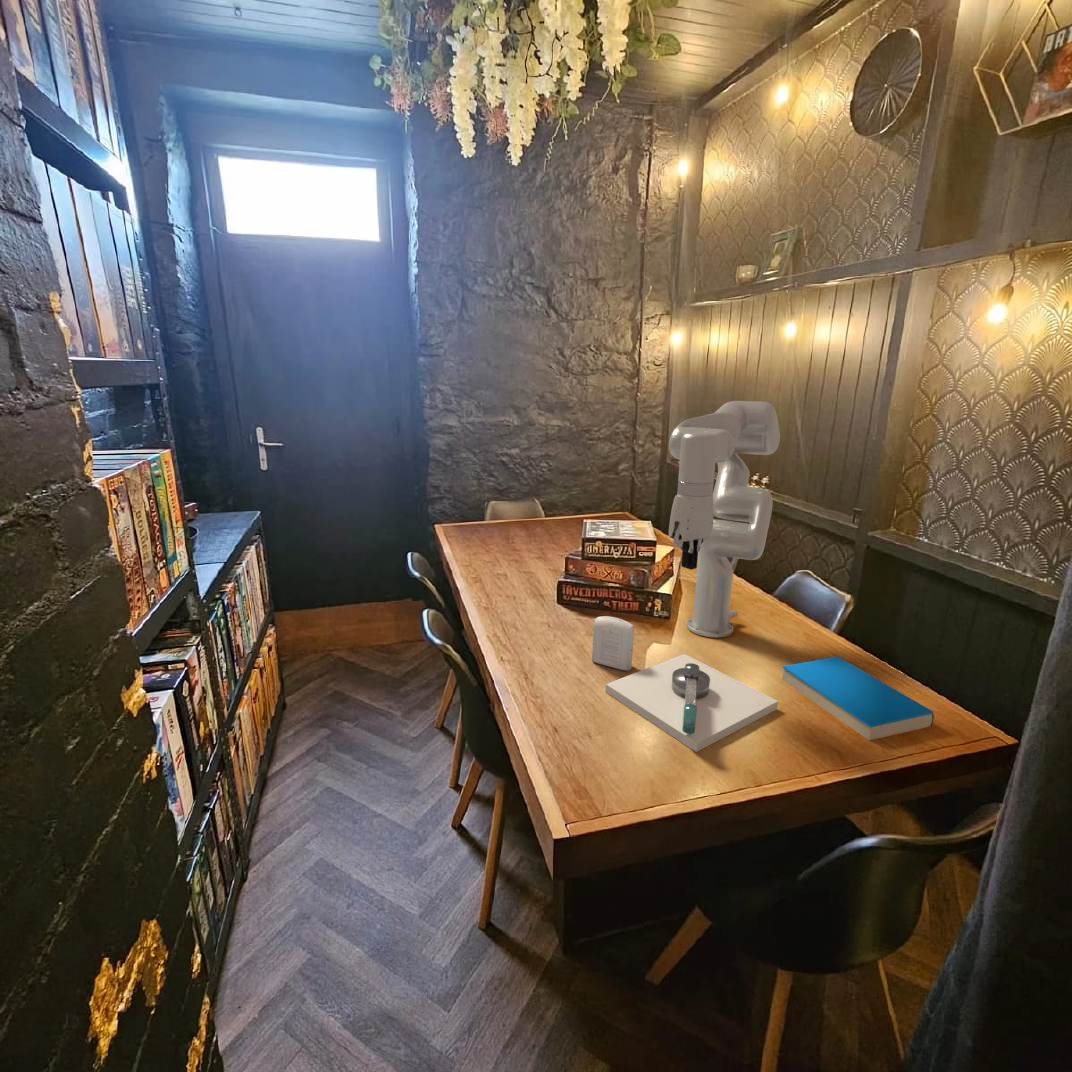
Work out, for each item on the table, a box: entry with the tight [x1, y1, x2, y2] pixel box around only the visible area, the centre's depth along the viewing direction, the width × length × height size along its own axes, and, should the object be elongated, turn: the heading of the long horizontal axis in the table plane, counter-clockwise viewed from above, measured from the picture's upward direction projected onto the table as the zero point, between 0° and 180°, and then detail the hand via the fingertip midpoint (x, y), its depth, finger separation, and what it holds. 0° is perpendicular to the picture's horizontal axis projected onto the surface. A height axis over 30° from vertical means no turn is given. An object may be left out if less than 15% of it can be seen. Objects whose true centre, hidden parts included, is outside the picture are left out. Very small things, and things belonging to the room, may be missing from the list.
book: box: [781, 656, 935, 741], centre depth 127 cm, size 17×4×25 cm
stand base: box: [605, 653, 779, 753], centre depth 127 cm, size 26×26×2 cm
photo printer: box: [591, 615, 635, 672], centre depth 141 cm, size 10×4×12 cm, turn 60°
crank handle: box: [672, 663, 710, 734], centre depth 120 cm, size 22×8×6 cm, turn 164°
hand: (688, 567), depth 132 cm, fingers closed
